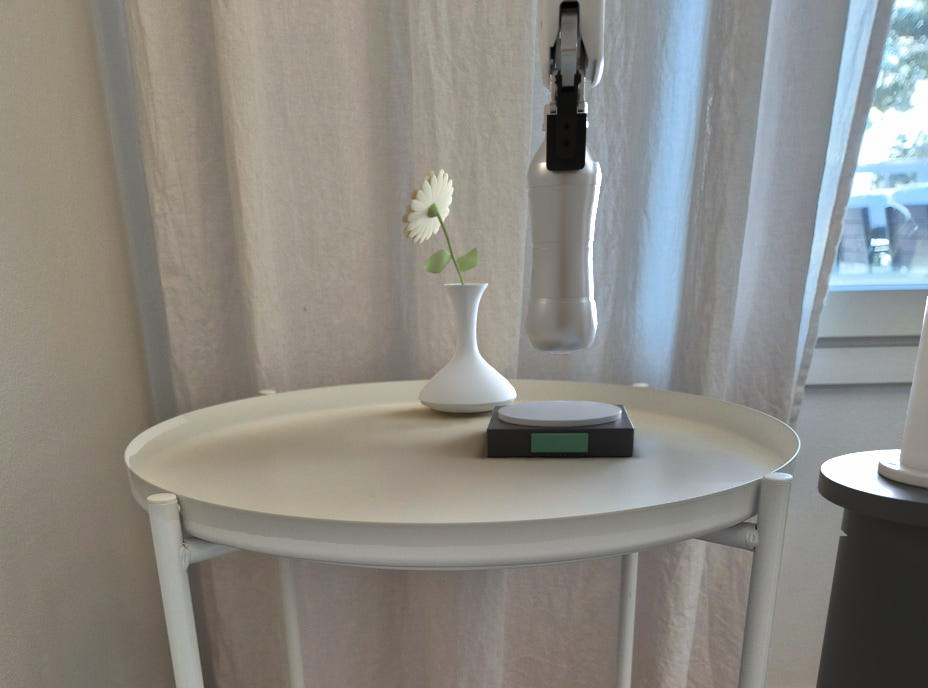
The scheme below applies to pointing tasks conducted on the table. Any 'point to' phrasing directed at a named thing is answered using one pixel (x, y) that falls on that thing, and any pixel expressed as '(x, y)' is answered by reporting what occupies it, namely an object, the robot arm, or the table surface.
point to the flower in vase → (467, 373)
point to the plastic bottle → (562, 253)
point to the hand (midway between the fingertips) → (564, 171)
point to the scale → (560, 430)
